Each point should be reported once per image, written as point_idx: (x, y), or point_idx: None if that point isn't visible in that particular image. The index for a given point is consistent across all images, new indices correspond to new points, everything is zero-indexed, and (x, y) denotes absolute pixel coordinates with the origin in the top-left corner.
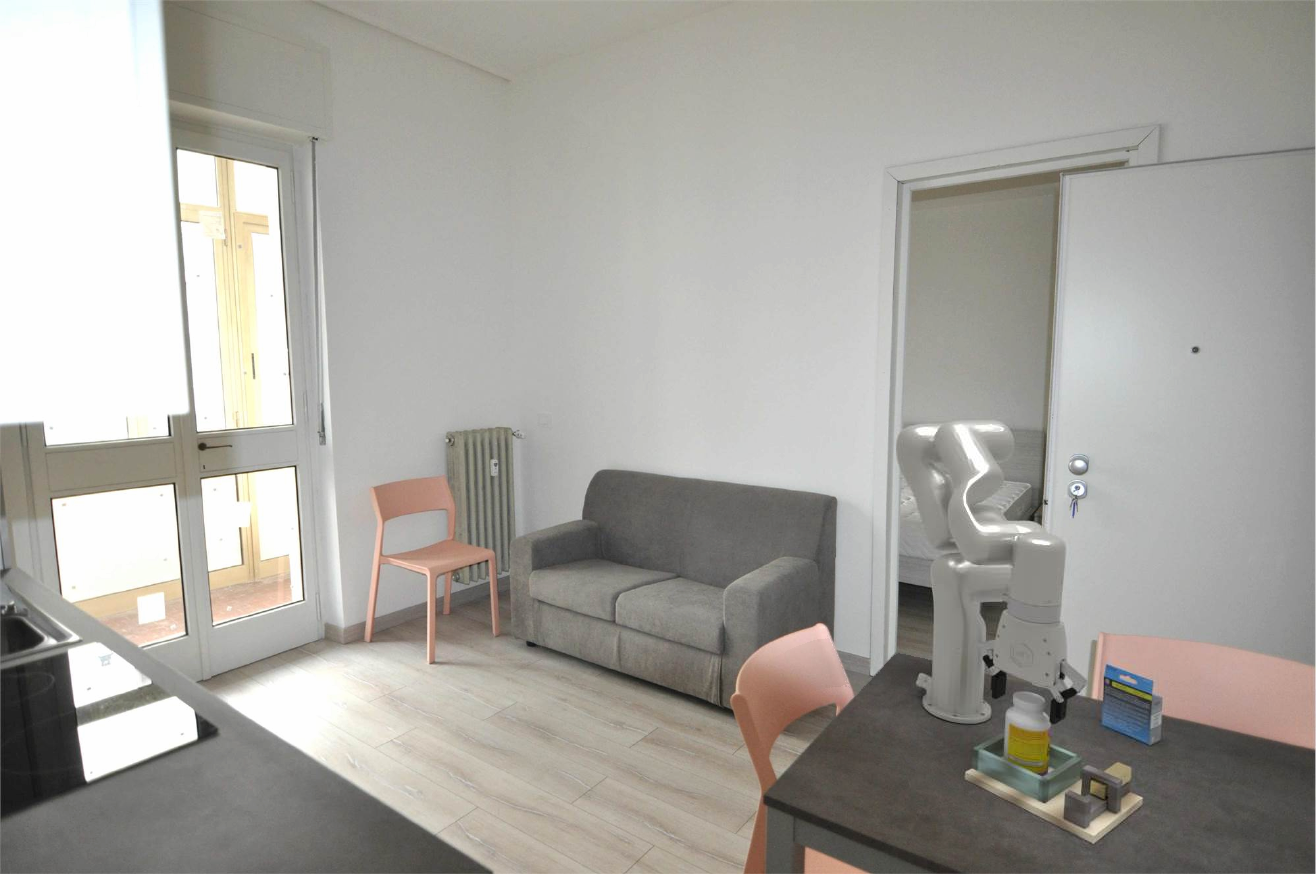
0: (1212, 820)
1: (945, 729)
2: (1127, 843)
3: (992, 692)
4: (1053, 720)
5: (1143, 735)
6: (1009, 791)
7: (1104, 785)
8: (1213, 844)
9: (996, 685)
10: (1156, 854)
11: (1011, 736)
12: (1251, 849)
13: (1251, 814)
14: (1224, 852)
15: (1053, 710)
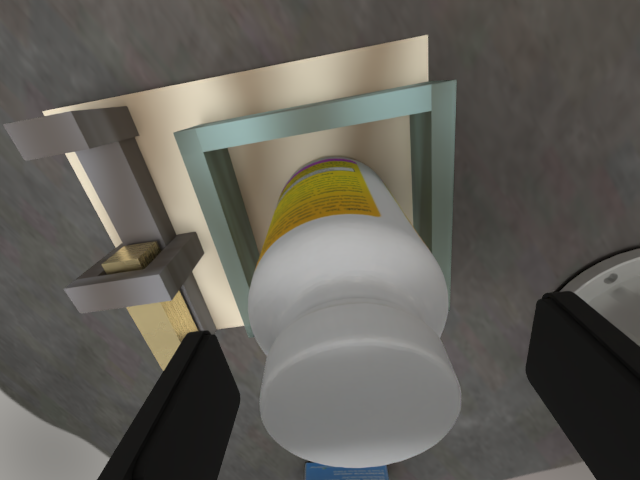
0: (106, 373)
1: (599, 218)
2: (56, 188)
3: (594, 314)
4: (179, 347)
5: (315, 475)
6: (284, 79)
7: (106, 268)
8: (41, 321)
9: (622, 374)
10: (15, 207)
11: (353, 192)
12: (25, 354)
13: (111, 423)
14: (18, 316)
15: (153, 401)
